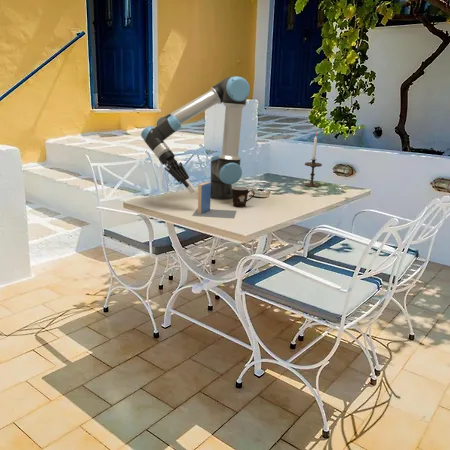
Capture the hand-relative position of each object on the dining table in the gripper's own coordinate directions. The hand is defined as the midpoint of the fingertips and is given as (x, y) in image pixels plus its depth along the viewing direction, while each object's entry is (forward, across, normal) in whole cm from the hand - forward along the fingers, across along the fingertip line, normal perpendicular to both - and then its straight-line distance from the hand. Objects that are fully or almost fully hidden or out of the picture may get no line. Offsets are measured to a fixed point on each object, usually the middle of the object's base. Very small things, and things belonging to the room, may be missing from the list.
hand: (193, 191), depth 228 cm
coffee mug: (+20, -21, +5) cm, 29 cm away
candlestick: (+29, -98, +15) cm, 104 cm away
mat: (+16, 0, +2) cm, 16 cm away
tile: (+11, 0, -2) cm, 11 cm away
